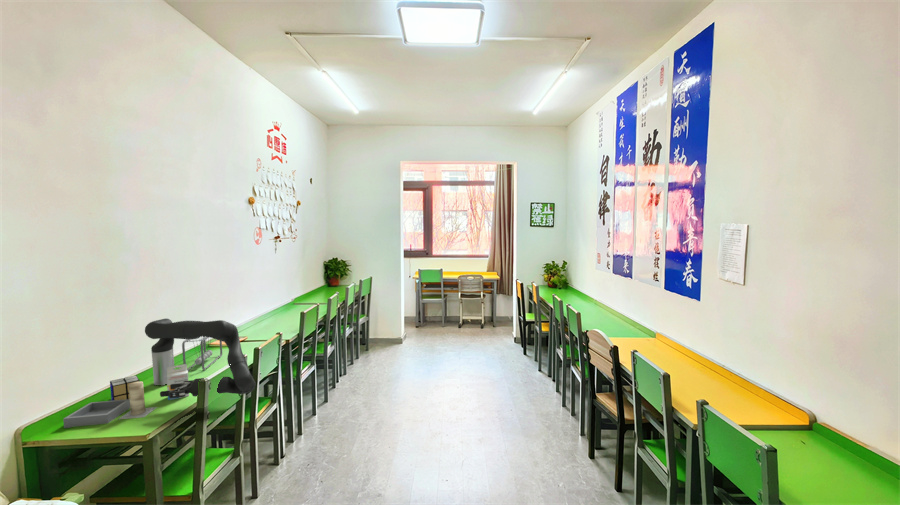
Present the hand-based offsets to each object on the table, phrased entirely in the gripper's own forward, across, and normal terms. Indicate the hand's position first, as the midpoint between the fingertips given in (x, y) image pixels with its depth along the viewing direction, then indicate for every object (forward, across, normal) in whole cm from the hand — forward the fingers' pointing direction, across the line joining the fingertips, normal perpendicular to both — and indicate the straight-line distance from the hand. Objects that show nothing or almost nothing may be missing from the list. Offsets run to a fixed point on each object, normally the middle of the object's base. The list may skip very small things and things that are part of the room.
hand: (165, 390), depth 180 cm
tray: (+27, 0, +9) cm, 28 cm away
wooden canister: (+12, 0, +9) cm, 15 cm away
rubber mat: (+12, 0, +9) cm, 15 cm away
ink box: (+3, -16, +10) cm, 19 cm away
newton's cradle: (+12, -68, +9) cm, 70 cm away
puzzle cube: (+26, -17, +9) cm, 32 cm away
